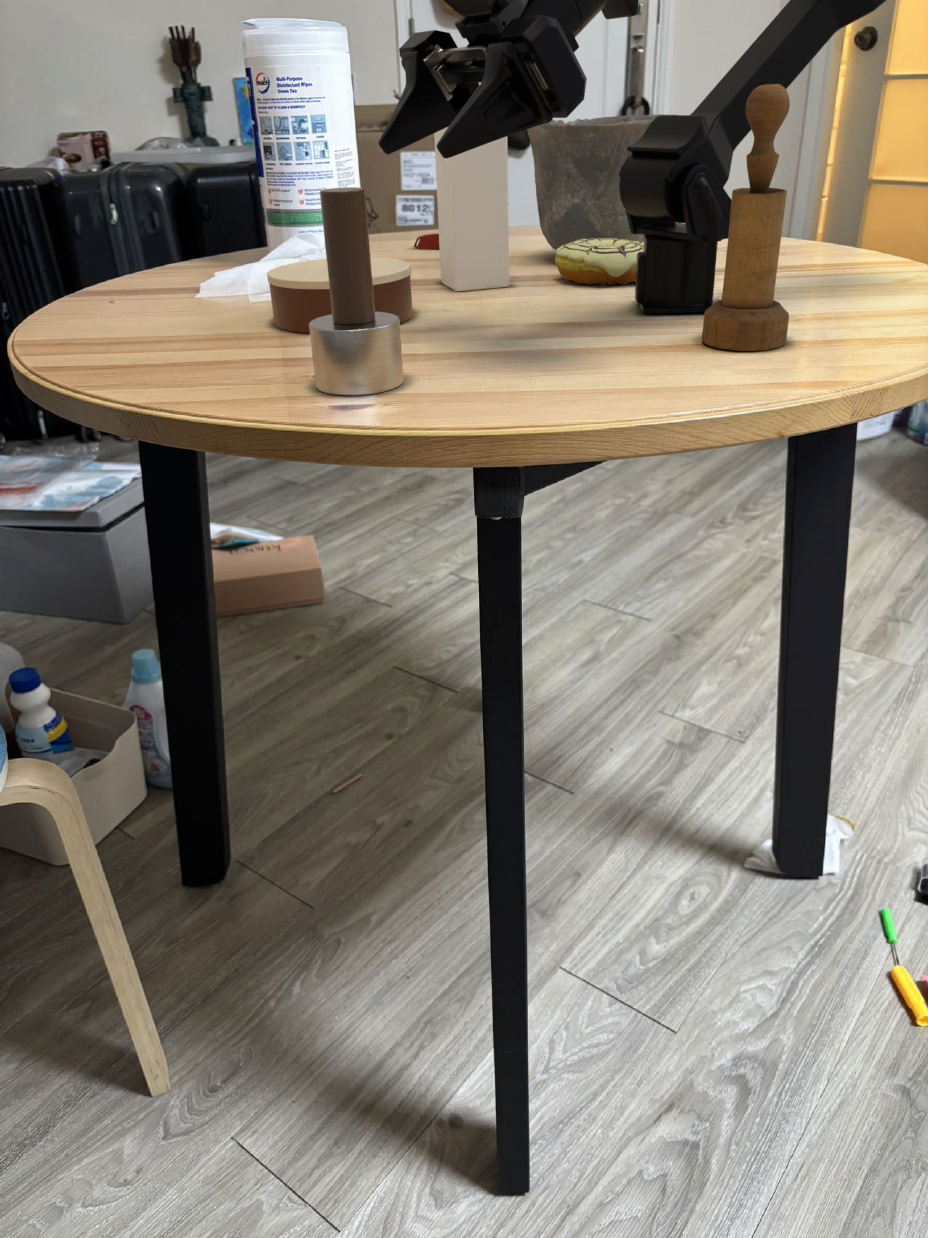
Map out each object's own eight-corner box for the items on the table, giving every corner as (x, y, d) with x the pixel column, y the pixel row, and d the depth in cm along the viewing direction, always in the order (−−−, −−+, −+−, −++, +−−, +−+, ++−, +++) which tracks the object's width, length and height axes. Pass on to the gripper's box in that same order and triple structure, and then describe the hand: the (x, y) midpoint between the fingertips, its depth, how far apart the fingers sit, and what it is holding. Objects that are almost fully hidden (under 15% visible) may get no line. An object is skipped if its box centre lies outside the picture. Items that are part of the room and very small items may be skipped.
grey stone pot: (550, 245, 127) (551, 117, 120) (685, 246, 122) (695, 112, 114) (510, 267, 113) (508, 123, 105) (662, 270, 107) (670, 118, 100)
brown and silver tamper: (409, 371, 73) (397, 183, 67) (396, 395, 67) (381, 192, 61) (326, 372, 74) (306, 186, 67) (306, 396, 68) (282, 195, 62)
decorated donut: (628, 290, 98) (630, 251, 96) (537, 283, 103) (537, 245, 101) (671, 273, 105) (674, 236, 103) (584, 267, 111) (585, 232, 109)
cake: (422, 303, 96) (419, 255, 94) (402, 332, 85) (398, 279, 82) (293, 305, 97) (287, 258, 95) (256, 335, 86) (248, 282, 84)
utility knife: (498, 248, 126) (497, 232, 125) (495, 250, 125) (495, 233, 125) (415, 247, 130) (414, 231, 129) (412, 248, 129) (411, 232, 128)
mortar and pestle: (774, 354, 73) (806, 83, 64) (690, 347, 76) (710, 86, 67) (794, 335, 78) (826, 81, 69) (715, 329, 81) (736, 84, 72)
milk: (455, 292, 101) (444, 47, 90) (440, 283, 106) (428, 49, 95) (511, 287, 102) (506, 44, 91) (493, 277, 107) (487, 47, 96)
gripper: (431, -87, 74) (291, 55, 73) (576, -135, 60) (405, 41, 59) (504, 48, 81) (378, 179, 80) (650, 34, 67) (499, 193, 66)
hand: (410, 150), depth 71 cm, fingers open, 9 cm apart
